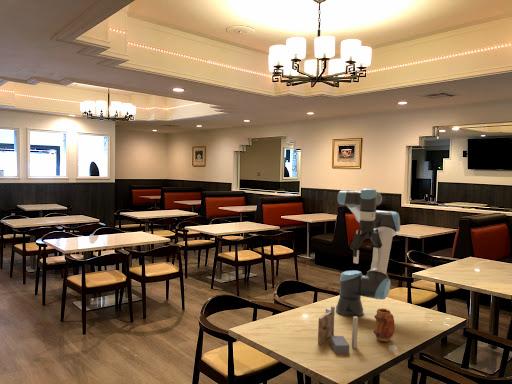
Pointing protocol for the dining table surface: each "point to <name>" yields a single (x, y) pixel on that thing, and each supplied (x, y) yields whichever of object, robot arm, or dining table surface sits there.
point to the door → (325, 327)
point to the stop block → (339, 344)
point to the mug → (384, 325)
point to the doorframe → (354, 329)
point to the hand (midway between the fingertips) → (365, 261)
